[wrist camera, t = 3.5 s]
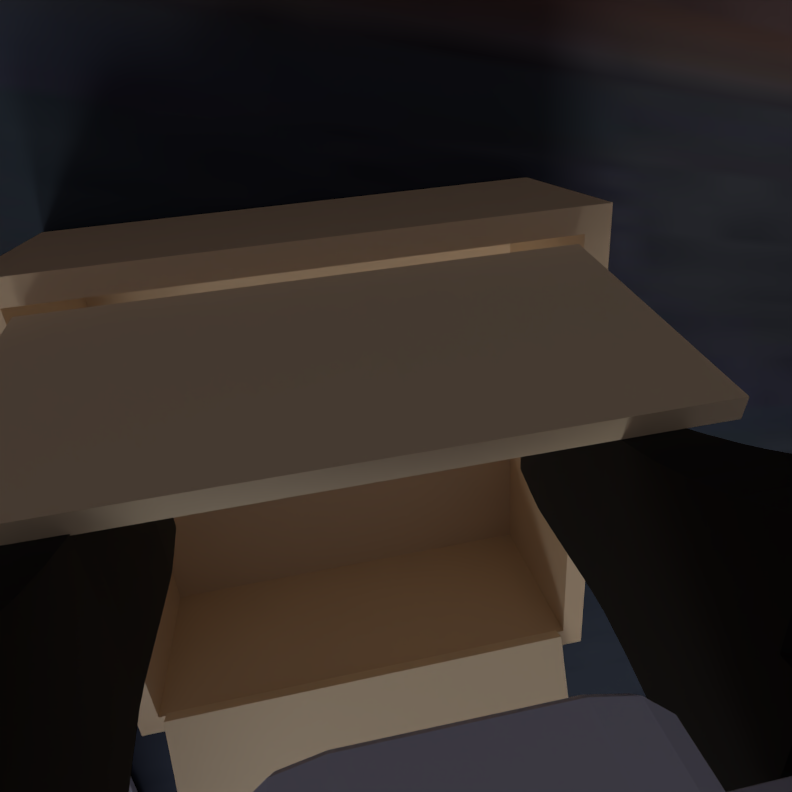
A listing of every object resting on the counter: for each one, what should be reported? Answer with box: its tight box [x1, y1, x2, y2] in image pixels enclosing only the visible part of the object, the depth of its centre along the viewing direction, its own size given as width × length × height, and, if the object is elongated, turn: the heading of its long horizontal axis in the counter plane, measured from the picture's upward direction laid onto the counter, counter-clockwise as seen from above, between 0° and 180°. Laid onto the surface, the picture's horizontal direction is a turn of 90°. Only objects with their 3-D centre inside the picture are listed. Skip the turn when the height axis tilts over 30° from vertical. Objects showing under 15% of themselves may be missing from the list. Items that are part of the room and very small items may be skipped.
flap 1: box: [0, 244, 749, 546], centre depth 10 cm, size 6×11×1 cm
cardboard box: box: [0, 177, 613, 736], centre depth 17 cm, size 13×13×5 cm
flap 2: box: [164, 630, 568, 792], centre depth 18 cm, size 6×11×1 cm, turn 95°
